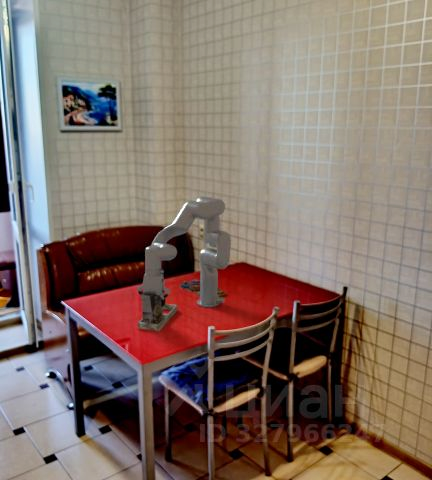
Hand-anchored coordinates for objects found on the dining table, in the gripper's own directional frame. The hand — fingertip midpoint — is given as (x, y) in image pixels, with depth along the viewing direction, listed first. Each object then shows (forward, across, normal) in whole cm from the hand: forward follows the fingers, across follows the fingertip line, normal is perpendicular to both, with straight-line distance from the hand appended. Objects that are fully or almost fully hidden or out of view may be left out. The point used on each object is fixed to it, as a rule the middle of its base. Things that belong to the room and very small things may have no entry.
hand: (153, 305), depth 225 cm
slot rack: (+10, 0, -6) cm, 12 cm away
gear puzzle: (+11, -10, -54) cm, 56 cm away
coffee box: (+10, 0, 0) cm, 10 cm away
